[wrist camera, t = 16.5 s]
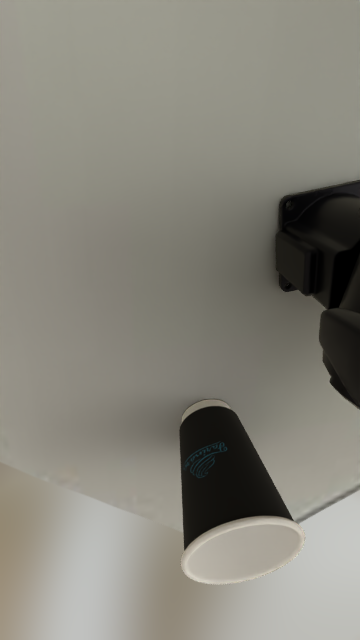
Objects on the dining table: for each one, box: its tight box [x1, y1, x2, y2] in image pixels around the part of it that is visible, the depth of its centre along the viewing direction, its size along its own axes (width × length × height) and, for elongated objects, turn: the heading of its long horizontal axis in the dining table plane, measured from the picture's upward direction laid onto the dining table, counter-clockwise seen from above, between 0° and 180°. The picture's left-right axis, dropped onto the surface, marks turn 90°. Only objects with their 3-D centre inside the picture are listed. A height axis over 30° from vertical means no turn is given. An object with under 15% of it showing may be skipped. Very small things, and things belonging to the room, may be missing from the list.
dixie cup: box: [180, 399, 305, 584], centre depth 24 cm, size 8×8×11 cm
